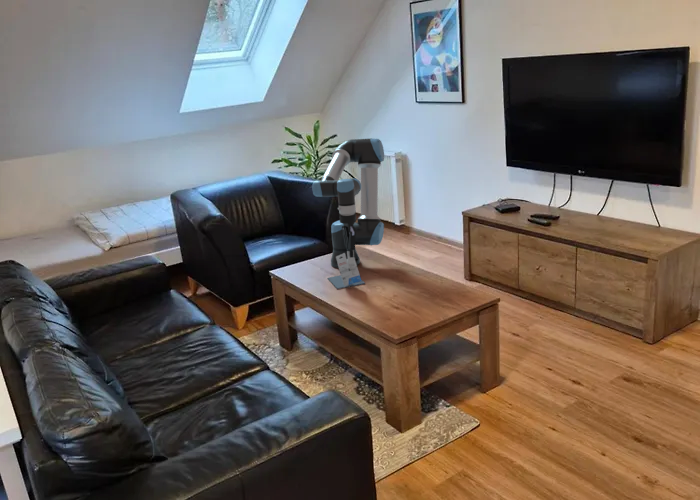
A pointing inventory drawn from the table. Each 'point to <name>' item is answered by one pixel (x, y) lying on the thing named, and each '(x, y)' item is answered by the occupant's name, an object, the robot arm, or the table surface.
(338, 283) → the mat
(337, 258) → the ink box
